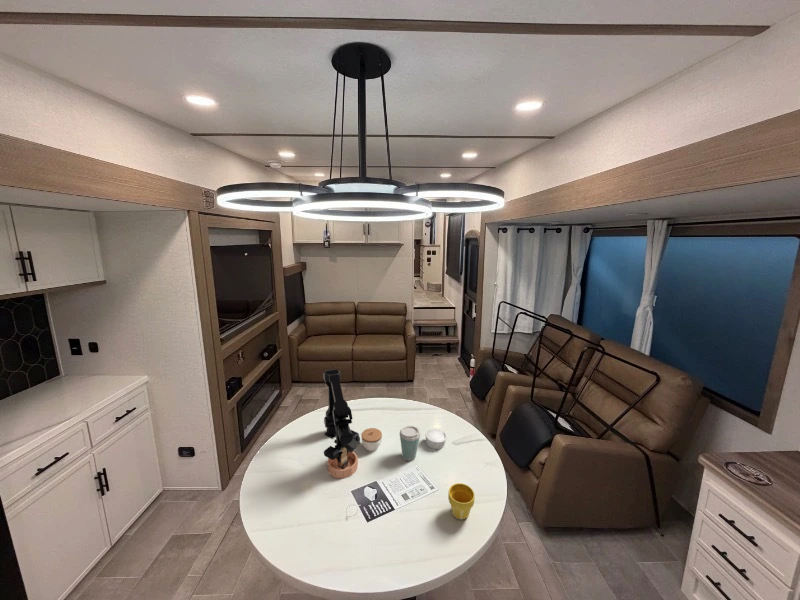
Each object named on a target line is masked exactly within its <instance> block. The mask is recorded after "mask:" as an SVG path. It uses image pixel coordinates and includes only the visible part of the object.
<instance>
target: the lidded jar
mask: <svg viewBox="0 0 800 600" xmlns="http://www.w3.org/2000/svg"><path fill="white" fill-rule="evenodd" d="M360 434H361V437H360V438H361V443H362V446H363V447H364V449H365V450H366V451H369V452H375V451H376V450H377V449H379V447H380V446H381V444H382V439H383V433H382V431H381V430H380V429H378V428H376V427H375V428H374V427H370V428H366V429H364V430H363V431H362V432H361V433H360Z"/></svg>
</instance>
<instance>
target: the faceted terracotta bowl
mask: <svg viewBox="0 0 800 600" xmlns="http://www.w3.org/2000/svg"><path fill="white" fill-rule="evenodd" d="M327 458H328V457H327ZM347 460H348V466H347V467H346V468H345V469H342V468H340V467H338V461H337V459H334V460H331V459H330V458H328V459H327V464H326V465H327V466H326V467H327V471H328V473H329V475H330V476H331V477H334V478H336V479H346V478H349V477H350V476H351V477H352V476H353V475H354V474H355V473H356V472H357V470H358V466H359V456H358V455H357V454H356V452H355V451H353V452H348V455H347Z"/></svg>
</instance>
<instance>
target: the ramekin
mask: <svg viewBox="0 0 800 600" xmlns="http://www.w3.org/2000/svg"><path fill="white" fill-rule="evenodd" d="M424 435H425V440H426V444H427V446H428V447H429V448H430V449H433V450H441V449H442V448H444V446H445V445H446V441H447V439H448V438H447V434H446V432H444V431H443V430H441V429H438V428H431V429H428V430H427V431H426V432H425V434H424Z"/></svg>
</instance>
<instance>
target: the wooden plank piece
mask: <svg viewBox="0 0 800 600" xmlns="http://www.w3.org/2000/svg"><path fill="white" fill-rule="evenodd" d="M341 452H343V453H342V454H341V462H338V465H339V466H341V467H342V466H343V463H344V462H345V461H346V460H347V449H346V448H345V446H344V448H341Z"/></svg>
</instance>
